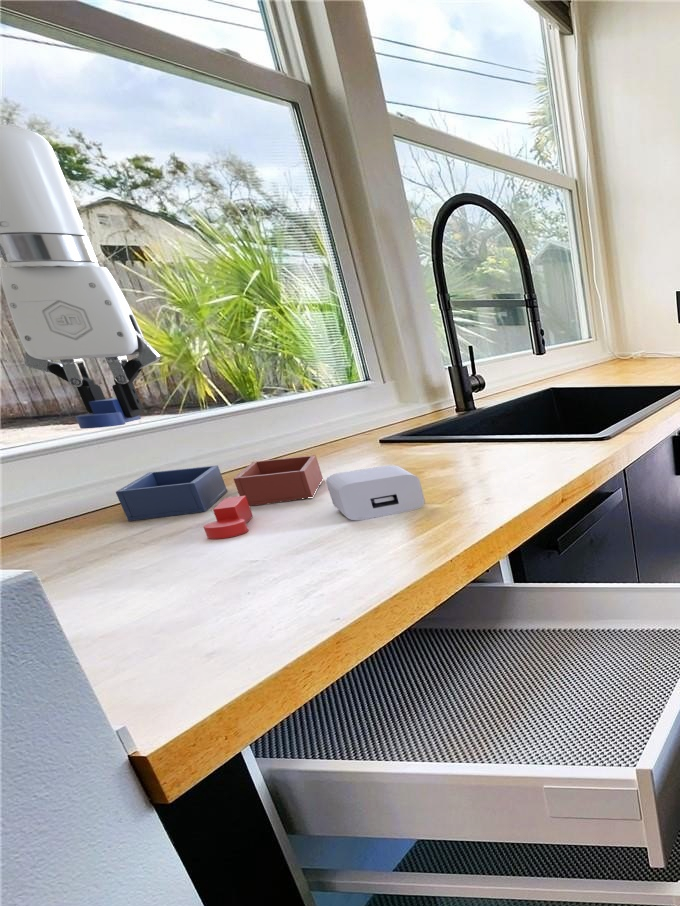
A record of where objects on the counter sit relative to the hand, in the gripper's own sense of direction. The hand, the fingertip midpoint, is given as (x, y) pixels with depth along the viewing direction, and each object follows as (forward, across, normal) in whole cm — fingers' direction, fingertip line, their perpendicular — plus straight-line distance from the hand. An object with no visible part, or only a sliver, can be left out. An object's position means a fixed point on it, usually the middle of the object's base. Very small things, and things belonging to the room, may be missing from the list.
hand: (118, 416), depth 87 cm
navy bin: (+13, 0, +7) cm, 15 cm away
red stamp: (+13, +10, -11) cm, 20 cm away
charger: (+14, +26, -8) cm, 30 cm away
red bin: (+13, +13, +7) cm, 20 cm away
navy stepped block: (+1, 0, -2) cm, 2 cm away
